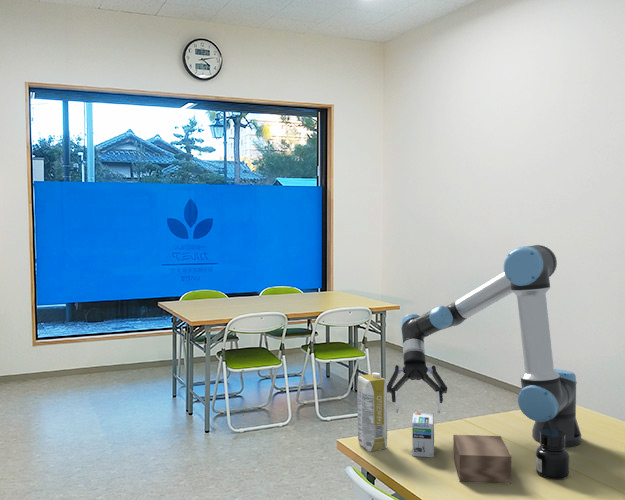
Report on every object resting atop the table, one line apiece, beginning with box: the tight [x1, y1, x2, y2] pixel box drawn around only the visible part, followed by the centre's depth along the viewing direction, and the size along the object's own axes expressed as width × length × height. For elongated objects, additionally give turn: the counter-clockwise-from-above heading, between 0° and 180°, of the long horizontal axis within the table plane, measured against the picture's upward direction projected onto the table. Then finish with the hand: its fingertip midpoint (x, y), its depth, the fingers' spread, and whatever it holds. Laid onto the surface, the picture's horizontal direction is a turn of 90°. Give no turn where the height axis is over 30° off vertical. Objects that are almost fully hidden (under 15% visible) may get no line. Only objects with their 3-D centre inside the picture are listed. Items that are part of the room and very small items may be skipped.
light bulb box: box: [411, 411, 435, 458], centre depth 196 cm, size 11×7×11 cm, turn 168°
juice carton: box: [356, 372, 388, 452], centre depth 199 cm, size 9×8×24 cm
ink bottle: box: [535, 429, 570, 480], centre depth 177 cm, size 10×9×12 cm
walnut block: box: [452, 434, 512, 485], centre depth 180 cm, size 14×16×8 cm
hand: (418, 411), depth 202 cm, fingers open, 13 cm apart
